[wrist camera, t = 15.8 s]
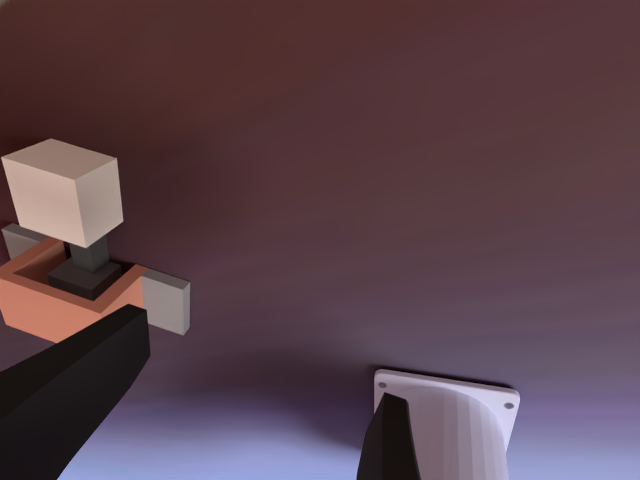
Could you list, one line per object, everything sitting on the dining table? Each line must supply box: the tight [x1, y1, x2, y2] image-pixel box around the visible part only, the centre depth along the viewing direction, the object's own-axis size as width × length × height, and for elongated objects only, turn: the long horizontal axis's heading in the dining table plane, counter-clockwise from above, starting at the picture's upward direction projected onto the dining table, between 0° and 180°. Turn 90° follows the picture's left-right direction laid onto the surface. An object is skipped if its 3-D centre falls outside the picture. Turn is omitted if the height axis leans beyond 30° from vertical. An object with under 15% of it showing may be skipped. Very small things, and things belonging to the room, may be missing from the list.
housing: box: [0, 223, 190, 343], centre depth 25 cm, size 4×13×4 cm, turn 79°
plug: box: [1, 139, 123, 301], centre depth 23 cm, size 10×4×3 cm, turn 169°
